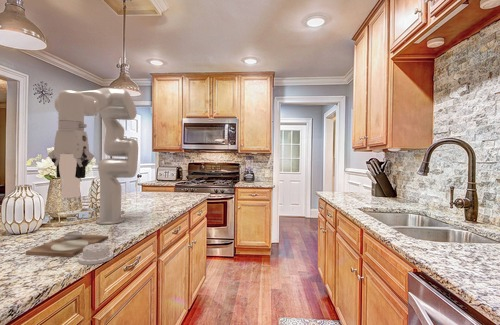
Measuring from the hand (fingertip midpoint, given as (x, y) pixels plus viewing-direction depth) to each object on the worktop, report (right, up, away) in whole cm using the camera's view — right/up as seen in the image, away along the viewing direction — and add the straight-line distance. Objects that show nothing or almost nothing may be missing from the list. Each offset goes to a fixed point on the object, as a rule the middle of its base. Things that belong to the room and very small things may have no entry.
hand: (70, 177), depth 95 cm
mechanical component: (+13, -26, -8) cm, 31 cm away
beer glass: (0, -7, 0) cm, 7 cm away
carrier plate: (-2, -25, +4) cm, 26 cm away
